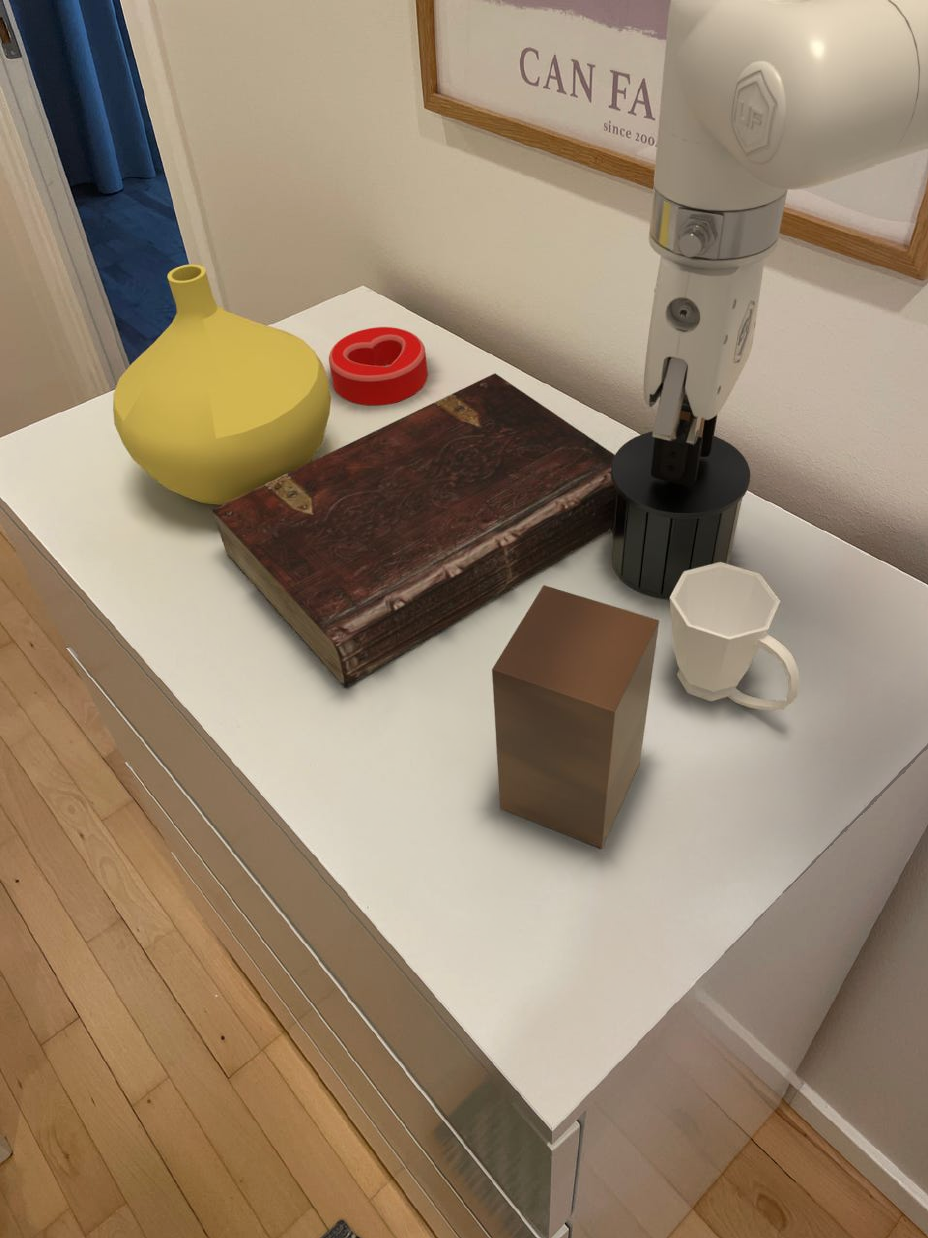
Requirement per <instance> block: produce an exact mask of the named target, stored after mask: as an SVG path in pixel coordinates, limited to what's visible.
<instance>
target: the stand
mask: <svg viewBox="0 0 928 1238" xmlns="http://www.w3.org/2000/svg"><path fill="white" fill-rule="evenodd" d="M659 626H660V620H659V619H658V618H657V619H656V618H653V617H650V616H647V615H643V614H640V613H636V612H634V611H630V610H628V609H625V608H624V609H623V608H620V607H617V606H614V605H610V604H608V603H604V602H601V601H597V600H594V599H590V598H587V597H585V596H581V595H578V594H574V593H571V592H568V591H565V590H561V589H558V588H555V587H553V586H552V587H551V586H548V585H545V584H543V585H542V586H541V588H540V590H539V592H538V594H537V595H536V597H535V598H534V600H533V602H532V603H531V604H530V607H529V608H528V610H527V612H526V613H525V615H524V616H523V618H522V619H521V621H520V623H519V624H518V626H517V628H516V629H515V631H514V632H513V634H512V636H511V638H510V639H509V640H508V643H506V645H505V647H504V649H503V650H502V652H501V654H500V656H499V657H498V659H497V660H496V662H495V664H493V665H494V666H493V667H492V669H491V677H492V678H491V679H492V695H493V711H494V727H495V746H496V748H495V749H496V762H497V775H498V776H497V780H498V781H497V782H498V796H499V809H502V810H504V811H506V812H508V813H511V814H514V815H517V816H519V817H521V818H524V819H526V820H528V821H531V822H534V823H536V824H538V825H541V826H543V827H546V828H548V829H551V830H552V831H553V830H554V831H556V832H559V833H561V834H564V835H567V836H569V837H571V838H573V839H576V840H579V841H581V842H584V843H586V844H589V845H591V846H594V847H596V848H599V849H603V847H604V845H605V843H606V841H607V838H608V836H609V834H610V831H611V829H612V827H613V826H614V825H613V824H614V823H615V820H616V818H617V815H618V813H619V812H620V809H621V807H622V805H623V802H624V800H625V798H626V795H627V793H628V792H629V788H630V786H631V784H632V782H633V780H634V777H635V775H636V773H637V771H638V768H639V766H640V763H641V757H642V751H643V750H642V749H643V742H644V736H645V729H646V720H647V713H648V706H649V699H650V693H651V692H650V691H651V684H652V677H653V670H654V663H655V656H656V655H655V654H656V648H657V639H658V633H659Z"/></svg>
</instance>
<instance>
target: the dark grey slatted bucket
mask: <svg viewBox="0 0 928 1238" xmlns="http://www.w3.org/2000/svg"><path fill="white" fill-rule="evenodd" d="M742 501H743V498H742V499H741V500H740V501H739V502H738V503H737V504H735V505H734V506H733V507H731V508H729V509H728V510H726V511H724V512H721V513H719V514H716V515H713V516H708V517H704V518H696V519H675V518H667V517H662V516H658V515H654V514H651V513H648V512H646V511H643V510H641V509H639V508H637V507H635V506H634V505H632V504H631V503H629V502H628V501H627V500H625V499H624V498H623V497H622V496H621V495H620V494H619V492H618V491H617V490H616V488H615V497H614V510H613V524H612V528H611V539H610V562H611V563H610V564H611V565H612V568H613V570H614V572H615V574H616V575H617V577H618V578H619V579H620V580H621V581H622V582H623V583H624V584H625V585H627V586H628V587H629V588H631V589H633V590H634V591H636V592H638V593H640V594H643V595H646V596H648V597H652V598H657V599H661V600H662V599H663V600H670V596H671V594H672V592H673V590H674V589H675V587H676V585H677V583H678V581H679V579H680V577H681V576H682V574H683V572H684V571H687V570H691V569H695V568H699V567H703V566H706V565H710V564H714V563H718V562H723V563H726V564H729V565H730V560H731V556H732V550H733V545H734V541H735V535H736V532H737V525H738V521H739V517H740V516H739V515H740V511H741V508H742V507H741V506H742Z"/></svg>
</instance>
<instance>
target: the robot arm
mask: <svg viewBox="0 0 928 1238" xmlns="http://www.w3.org/2000/svg"><path fill="white" fill-rule="evenodd" d="M669 2H670V3H669V8H668V17H667V27H666V37H665V41H666V42H665V51H664V62H663V73H662V83H661V93H660V94H661V95H660V107H659V119H658V127H657V128H658V129H657V141H656V153H655V161H654V176H653V185H652V186H653V188H652V198H651V209H650V219H649V220H650V222H649V231H648V243H649V246H650V247H651V248H652V250H653V251H654V252H655V253H656V254H658V255H659V256H660V259H659V266H658V272H657V277H656V281H655V287H654V289H653V291H654V295H653V302H652V307H651V315H650V321H649V328H648V335H647V337H648V338H647V344H646V353H645V361H644V362H645V363H644V372H643V389H642V390H643V399H644V402H645V403H646V405H647V406H648V407H649V408H652V407H653V406H654V405H656V403H657V401H658V408H657V412H656V416H655V418H654V419H655V420H654V423H653V428H652V431H653V433H652V437H654V438H655V440H654V449H653V458H652V467H651V475H652V476H653V477H654V478H657V479H661V480H665V481H669V482H673V483H676V484H680V485H684V486H689V487H691V486H693V485H694V483H695V481H696V479H697V472H698V466H699V459H700V456H701V457H707V456H709V454H710V452H711V450H712V445H713V439H714V436H715V431H716V426H717V421H718V415H719V413H720V412H721V411H722V409H723V407H724V405H725V404H726V402H727V400H728V398H729V396H730V395H731V393H732V391H733V390H734V387H735V385H736V383H737V382H738V380H739V378H740V375H741V374H742V373H743V370H744V368H745V366H746V364H747V362H748V359H749V357H750V356H751V355H750V354H751V352H752V349H753V343H754V337H755V329H756V323H757V316H758V309H759V302H760V294H761V286H762V280H763V273H764V265H765V259H766V258H767V259H768V257H769V256H771V255H772V254H773V253H774V252H775V250H776V248H777V246H778V242H779V236H780V231H781V227H782V221H783V216H784V211H785V205H786V199H787V194H788V190H790V191H791V190H793V191H794V190H795V191H796V190H803V189H809V188H813V187H818V186H820V185H823V184H826V183H829V182H832V181H835V180H838V179H841V178H844V177H847V176H850V175H853V174H856V173H859V172H862V171H865V170H867V169H870V168H872V167H875V166H877V165H880V164H883V163H887V162H890V161H892V160H896V159H900V158H902V157H905V156H908V155H911V154H914V153H917V152H921V151H924V150H928V0H670V1H669ZM680 411H685V412H690V413H691V415H690V422H689V423H688V421H687V420H683V419H679V415H680ZM701 418H704V419H705V421H704V427H703V434H702V437H698V435H699V430H700V424H701Z"/></svg>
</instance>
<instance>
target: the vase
mask: <svg viewBox="0 0 928 1238" xmlns="http://www.w3.org/2000/svg"><path fill="white" fill-rule="evenodd" d="M167 280H168V284H169V286H170V289H171V293H172V297H173V300H174V302H175V308H176V314H175V316H174V318H173V320H172V323H170V325H169V326H168V327H167V328H166V329H165V330H164V331H163V332H162V333H161V335H160V336H158V338H157V339H156V340H155V341H154V342H153V343H152V344H151V345H149V347H148V348H147V349H146V350H144V351H143V352H142V353H141V355H139V356H138V357H137V358H136V359H135V360H133V362H132V363H131V364H130V365H129V366H128V367H127V369H126V370H125V371H124V372H123V374H122V375H120V377H119V378H118V381H117V384H116V386H115V388H114V392H113V399H112V400H113V405H112V412H113V422H114V426H115V429H116V431H117V433H118V436H119V438H120V440H121V443H122V445H123V447H124V448H125V450H126V451H127V452H128V454H129V456H130V457H131V460H133V461H134V462H135V463H136V464H138V466H140V467H141V468H142V469H143V470H144V471H145V472H146V473H147V474H148V475H149V476H150V477H151V478H153V479H154V480H155V481H156V482H157V483H159V484H160V485H162V486H163V487H164V488H166V489H168V490H169V491H172V492H173V493H176V494H178V495H180V496H182V497H185V498H187V499H190V500H193V501H195V502H199V503H201V504H209V505H219V506H221V505H223V504H225V503H227V502H229V501H231V500H233V499H235V498H237V497H239V496H241V495H244V494H246V493H248V492H250V491H252V490H254V489H256V488H258V487H260V486H262V485H264V484H266V483H268V482H271V481H273V480H275V479H277V478H279V477H281V476H283V475H285V474H287V473H289V472H291V471H293V470H295V469H297V468H300V467H302V466H304V465H306V464H308V463H310V462H312V461H313V459H314V457H315V456H316V454H317V452H318V450H319V449H320V447H321V445H322V442H323V440H324V436H325V432H326V429H327V424H328V420H329V417H330V412H331V402H332V394H331V389H330V384H329V377H328V374H327V372H326V369H325V366H324V364H323V362H322V361H321V359H320V357H319V356H318V354H317V353H316V351H315V350H314V348H312V347H311V346H310V345H309V344H308V343H307V342H306V341H305V340H304V339H303V338H300V337H299V336H296V335H295V334H293V333H290V332H288V331H286V330H284V329H283V330H282V329H280V328H277V327H273V326H270V325H268V324H264V323H260V322H256V321H254V320H251V319H249V318H245V317H243V316H240V315H238V314H235V313H232V312H229V311H227V310H226V309H224V308H223V307H221V306H220V305H219V304H217V302H216V300H215V298H214V296H213V292H212V288H211V285H210V281H209V278H208V274H207V269H206V268H205V267H204V266H202V265H200V264H195V263H194V264H193V263H192V264H184V265H180V266H177V267H175V268H173V269H172V270H170V271H169V272H168V273H167Z"/></svg>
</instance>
